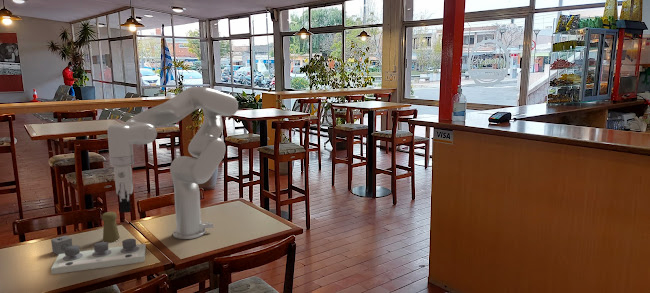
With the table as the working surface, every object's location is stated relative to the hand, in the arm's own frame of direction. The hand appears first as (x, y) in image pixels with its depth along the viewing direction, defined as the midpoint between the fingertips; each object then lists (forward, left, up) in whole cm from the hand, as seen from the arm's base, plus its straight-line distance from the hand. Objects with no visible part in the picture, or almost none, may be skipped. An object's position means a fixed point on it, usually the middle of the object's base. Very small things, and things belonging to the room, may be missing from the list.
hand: (125, 211), depth 157 cm
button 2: (0, 0, -13) cm, 13 cm away
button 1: (+18, 0, -13) cm, 22 cm away
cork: (+8, -19, -17) cm, 26 cm away
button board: (+9, +1, -16) cm, 19 cm away
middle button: (+9, 0, -13) cm, 16 cm away
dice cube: (+23, -12, -17) cm, 31 cm away
